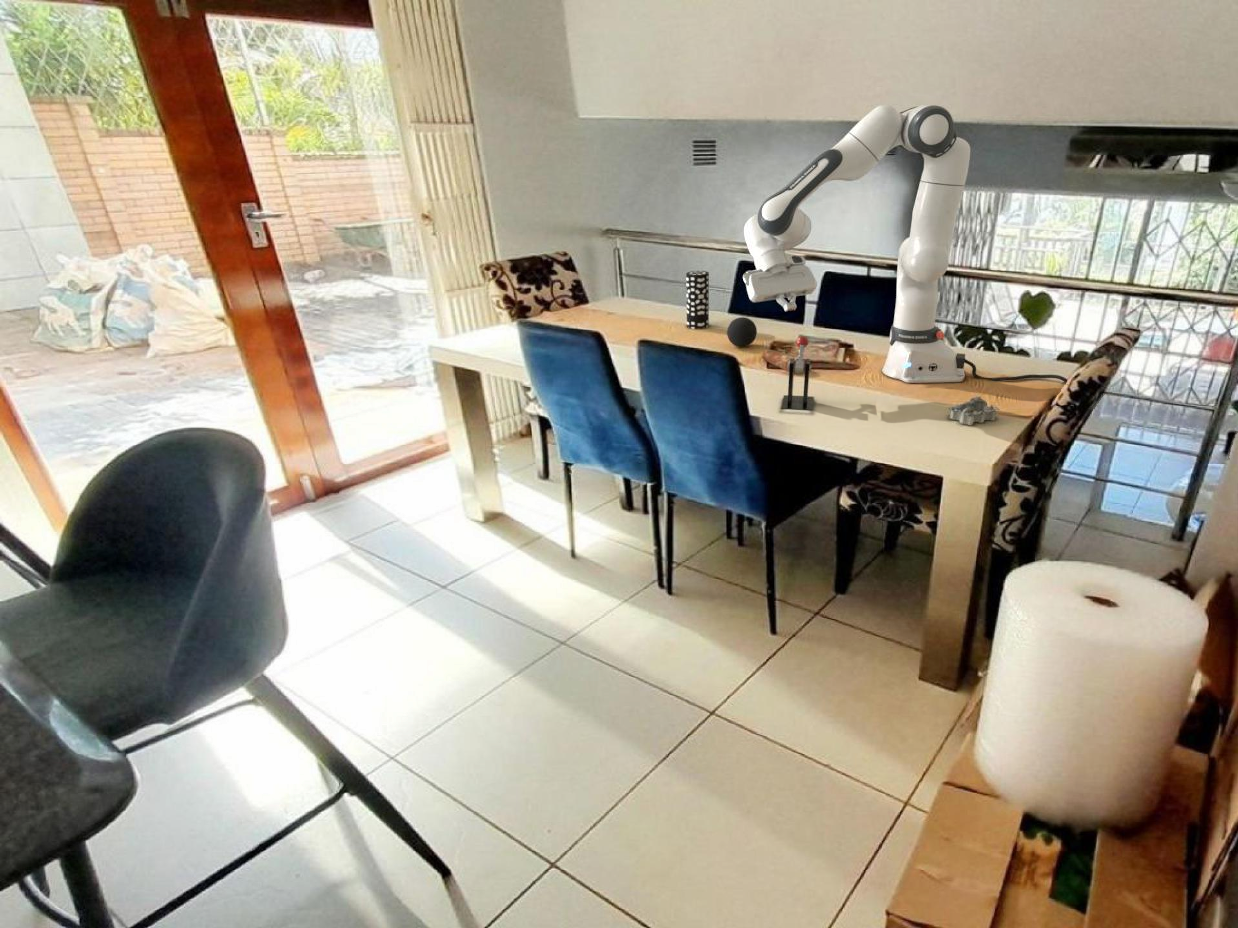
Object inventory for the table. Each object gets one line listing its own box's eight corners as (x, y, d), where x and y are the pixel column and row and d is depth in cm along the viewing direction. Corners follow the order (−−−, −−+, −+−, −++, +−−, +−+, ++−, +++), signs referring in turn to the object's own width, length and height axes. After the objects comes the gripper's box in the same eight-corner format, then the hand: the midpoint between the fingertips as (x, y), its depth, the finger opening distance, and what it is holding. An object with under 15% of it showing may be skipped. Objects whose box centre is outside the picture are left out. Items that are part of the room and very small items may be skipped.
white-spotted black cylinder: (712, 324, 270) (712, 271, 262) (702, 329, 264) (702, 276, 255) (692, 322, 274) (692, 270, 266) (683, 327, 268) (682, 274, 260)
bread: (790, 378, 211) (791, 360, 208) (758, 361, 227) (759, 344, 224) (808, 374, 212) (810, 357, 210) (775, 358, 229) (776, 341, 226)
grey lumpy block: (978, 410, 181) (981, 395, 179) (1000, 420, 175) (1004, 405, 173) (943, 416, 179) (946, 401, 177) (964, 426, 172) (967, 411, 170)
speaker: (751, 351, 236) (752, 322, 232) (723, 349, 241) (723, 320, 236) (759, 343, 244) (760, 315, 240) (732, 341, 248) (732, 313, 244)
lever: (796, 342, 194) (797, 333, 191) (808, 342, 193) (809, 334, 190) (792, 375, 186) (793, 366, 184) (805, 375, 185) (805, 367, 183)
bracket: (783, 399, 195) (785, 354, 190) (813, 400, 193) (816, 355, 188) (780, 412, 187) (782, 366, 181) (811, 414, 185) (814, 367, 179)
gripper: (745, 265, 191) (762, 308, 187) (809, 256, 197) (827, 298, 193) (736, 279, 197) (753, 320, 193) (799, 270, 203) (816, 310, 199)
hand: (791, 309), depth 193 cm, fingers closed
